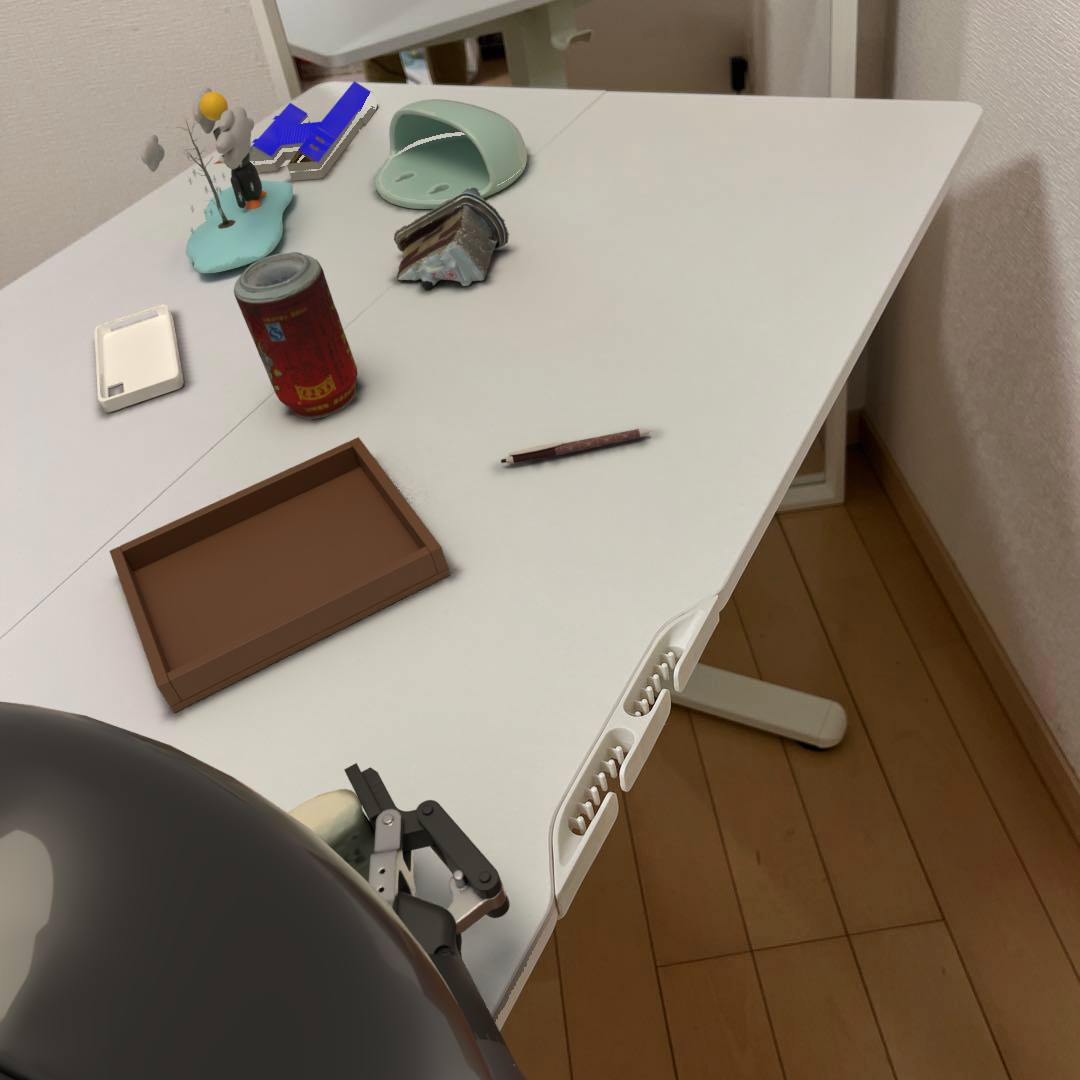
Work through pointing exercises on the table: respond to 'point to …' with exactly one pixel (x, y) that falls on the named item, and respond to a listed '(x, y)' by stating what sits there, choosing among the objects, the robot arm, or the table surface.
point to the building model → (311, 136)
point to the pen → (571, 446)
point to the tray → (273, 571)
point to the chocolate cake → (451, 241)
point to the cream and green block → (340, 826)
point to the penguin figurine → (230, 192)
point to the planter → (449, 154)
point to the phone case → (137, 359)
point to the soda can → (298, 333)
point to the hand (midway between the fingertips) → (296, 808)
